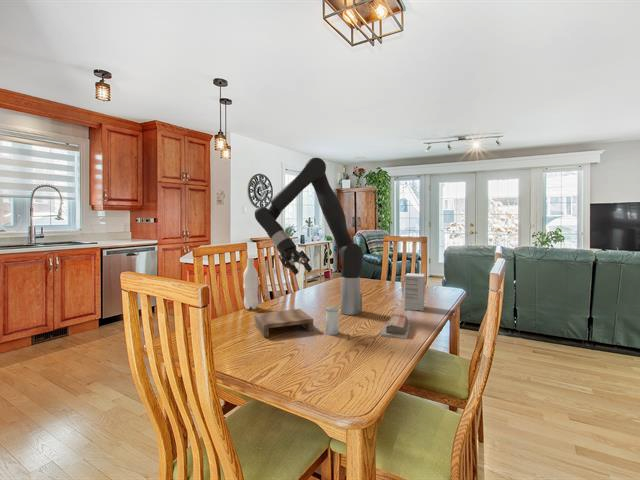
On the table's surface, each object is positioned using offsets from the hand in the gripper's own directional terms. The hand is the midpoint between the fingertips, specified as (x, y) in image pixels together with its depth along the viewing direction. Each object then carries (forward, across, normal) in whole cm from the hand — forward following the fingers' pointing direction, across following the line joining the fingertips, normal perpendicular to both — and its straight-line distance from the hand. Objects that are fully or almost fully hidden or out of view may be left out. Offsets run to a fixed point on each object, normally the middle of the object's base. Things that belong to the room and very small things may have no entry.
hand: (303, 272), depth 146 cm
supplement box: (+34, +54, -2) cm, 64 cm away
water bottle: (-11, +5, +44) cm, 45 cm away
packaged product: (+40, +18, -7) cm, 45 cm away
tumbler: (+26, 0, +6) cm, 27 cm away
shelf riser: (+13, -8, +19) cm, 24 cm away
